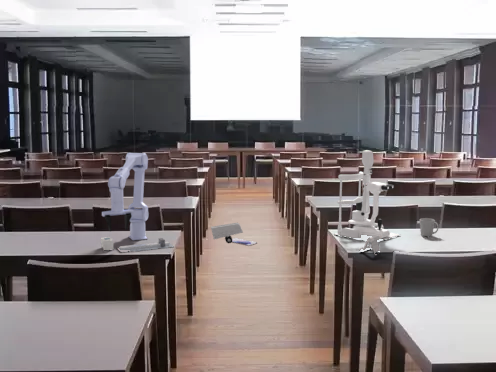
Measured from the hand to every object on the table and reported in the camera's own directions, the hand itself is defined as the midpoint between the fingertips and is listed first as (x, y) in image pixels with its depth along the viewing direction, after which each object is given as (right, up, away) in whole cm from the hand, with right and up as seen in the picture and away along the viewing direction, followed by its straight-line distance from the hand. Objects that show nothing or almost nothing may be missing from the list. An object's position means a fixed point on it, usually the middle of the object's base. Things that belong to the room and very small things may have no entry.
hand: (118, 229), depth 279 cm
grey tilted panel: (+44, -4, +14) cm, 46 cm away
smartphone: (+59, -8, +16) cm, 61 cm away
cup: (+157, -6, +30) cm, 160 cm away
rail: (+12, -9, +5) cm, 16 cm away
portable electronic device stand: (+119, -11, -3) cm, 120 cm away
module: (-6, -9, +2) cm, 11 cm away
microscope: (+124, -6, +30) cm, 128 cm away
